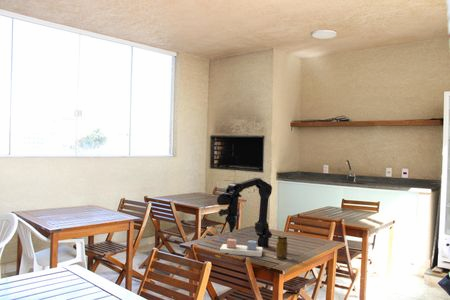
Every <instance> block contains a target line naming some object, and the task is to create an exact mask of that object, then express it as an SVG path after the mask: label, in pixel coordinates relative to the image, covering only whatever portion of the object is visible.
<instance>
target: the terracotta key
mask: <svg viewBox="0 0 450 300" xmlns="http://www.w3.org/2000/svg"><path fill="white" fill-rule="evenodd" d="M237 243H238V242H237V238H227V240H226V244H227V247H229V248H236V245H237Z"/></svg>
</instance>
